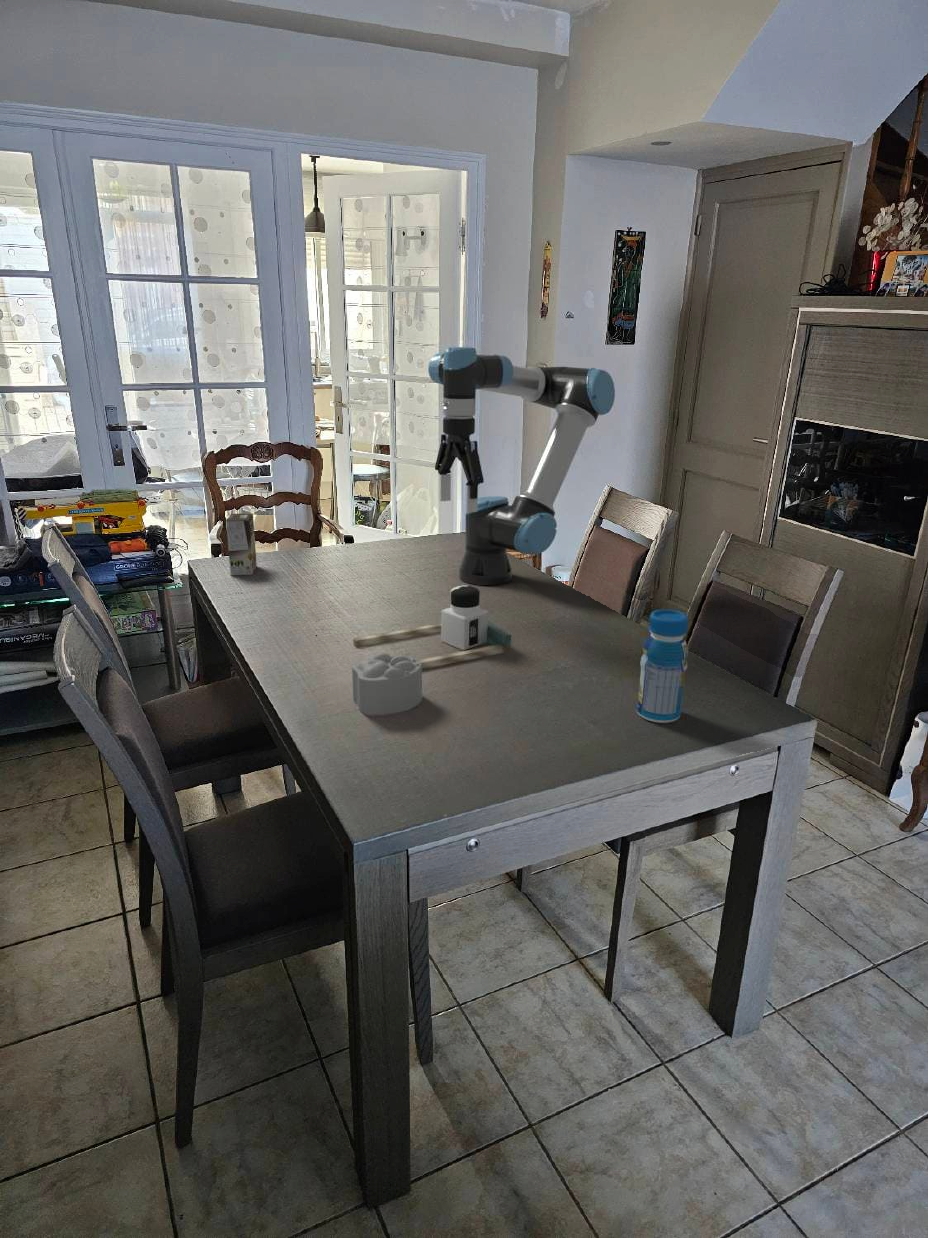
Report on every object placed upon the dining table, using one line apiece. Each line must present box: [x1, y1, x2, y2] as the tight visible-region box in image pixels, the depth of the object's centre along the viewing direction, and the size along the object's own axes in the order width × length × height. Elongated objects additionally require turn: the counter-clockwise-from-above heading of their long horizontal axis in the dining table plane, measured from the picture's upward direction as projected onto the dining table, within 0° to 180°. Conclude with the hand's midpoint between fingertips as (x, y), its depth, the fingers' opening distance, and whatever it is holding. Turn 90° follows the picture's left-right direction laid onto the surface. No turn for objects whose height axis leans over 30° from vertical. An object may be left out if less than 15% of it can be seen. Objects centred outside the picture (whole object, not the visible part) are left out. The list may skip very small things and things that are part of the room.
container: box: [440, 585, 489, 651], centre depth 181 cm, size 8×8×13 cm
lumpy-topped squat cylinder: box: [351, 652, 423, 717], centre depth 153 cm, size 10×13×9 cm
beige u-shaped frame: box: [352, 619, 512, 670], centre depth 179 cm, size 30×19×4 cm, turn 119°
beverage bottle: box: [635, 608, 689, 724], centre depth 147 cm, size 8×8×20 cm
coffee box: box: [225, 512, 258, 576], centre depth 228 cm, size 9×6×16 cm
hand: (457, 506), depth 194 cm, fingers open, 13 cm apart
